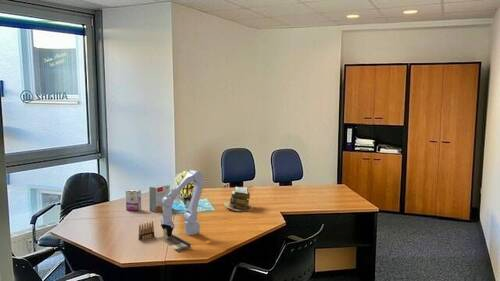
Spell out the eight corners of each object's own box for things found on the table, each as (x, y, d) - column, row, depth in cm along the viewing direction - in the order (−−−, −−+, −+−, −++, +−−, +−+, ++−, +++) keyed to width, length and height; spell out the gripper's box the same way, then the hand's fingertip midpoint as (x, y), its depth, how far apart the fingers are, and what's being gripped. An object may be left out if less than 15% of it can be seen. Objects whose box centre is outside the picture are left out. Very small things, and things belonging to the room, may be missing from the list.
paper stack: (257, 205, 352) (257, 186, 350) (249, 213, 328) (249, 193, 326) (229, 203, 358) (229, 184, 356) (219, 211, 334) (219, 190, 332)
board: (169, 236, 275) (169, 232, 274) (190, 248, 255) (190, 243, 255) (157, 240, 269) (157, 235, 269) (177, 252, 249) (177, 247, 249)
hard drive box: (155, 212, 329) (155, 188, 326) (149, 210, 334) (148, 186, 331) (170, 208, 341) (169, 184, 339) (164, 206, 346) (163, 183, 343)
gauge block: (169, 236, 272) (168, 227, 271) (172, 237, 269) (171, 228, 268) (163, 237, 270) (163, 228, 269) (166, 239, 267) (166, 230, 266)
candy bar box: (141, 209, 337) (141, 189, 335) (138, 211, 332) (138, 191, 330) (129, 208, 339) (128, 189, 337) (126, 210, 334) (125, 190, 332)
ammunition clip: (153, 238, 273) (153, 220, 271) (154, 238, 271) (154, 221, 270) (138, 241, 266) (137, 223, 264) (139, 242, 264) (139, 224, 263)
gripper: (156, 213, 270) (156, 233, 272) (167, 219, 259) (167, 240, 261) (166, 211, 275) (166, 231, 277) (177, 217, 264) (177, 237, 266)
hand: (167, 235), depth 269 cm, fingers closed on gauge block, 4 cm apart
